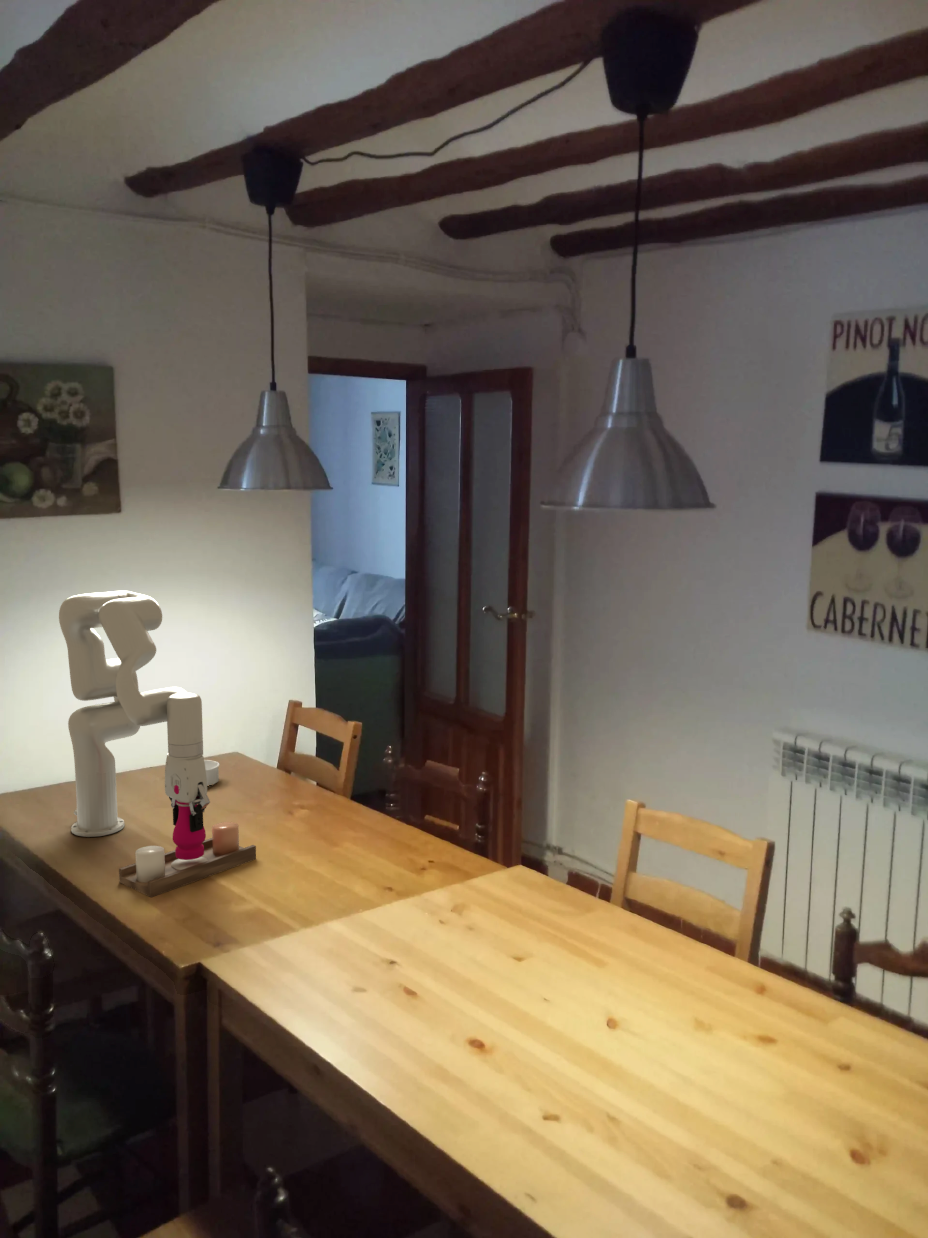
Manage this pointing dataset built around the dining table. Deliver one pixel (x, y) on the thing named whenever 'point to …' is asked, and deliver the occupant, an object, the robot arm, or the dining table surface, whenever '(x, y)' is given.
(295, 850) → the dining table surface
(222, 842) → the pink pillar candle
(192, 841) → the pepper mill
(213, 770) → the saucepan
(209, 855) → the rail
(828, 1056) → the dining table surface
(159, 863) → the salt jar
